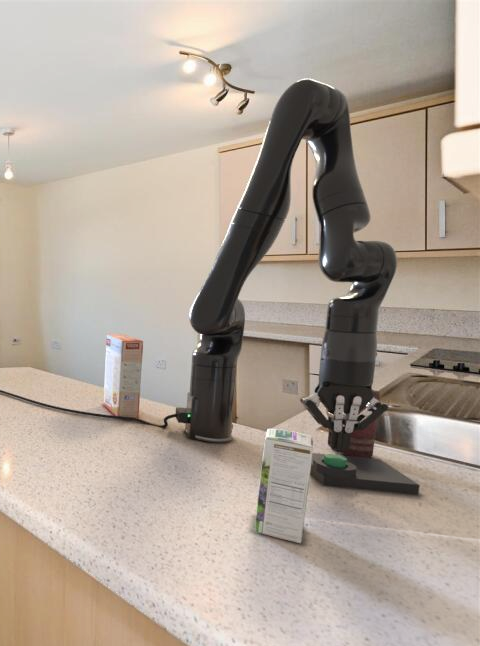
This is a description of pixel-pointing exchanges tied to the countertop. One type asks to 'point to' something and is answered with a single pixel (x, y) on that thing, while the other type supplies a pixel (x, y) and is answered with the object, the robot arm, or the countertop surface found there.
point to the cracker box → (123, 375)
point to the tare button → (335, 460)
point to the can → (363, 438)
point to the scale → (362, 475)
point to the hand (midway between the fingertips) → (337, 450)
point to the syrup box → (284, 484)
